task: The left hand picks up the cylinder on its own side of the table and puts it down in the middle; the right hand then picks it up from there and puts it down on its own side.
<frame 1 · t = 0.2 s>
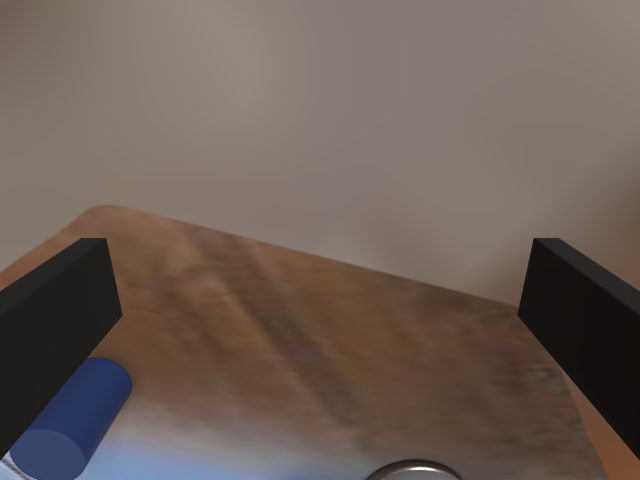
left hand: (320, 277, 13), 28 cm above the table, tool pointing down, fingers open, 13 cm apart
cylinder: (102, 381, 49), on the table
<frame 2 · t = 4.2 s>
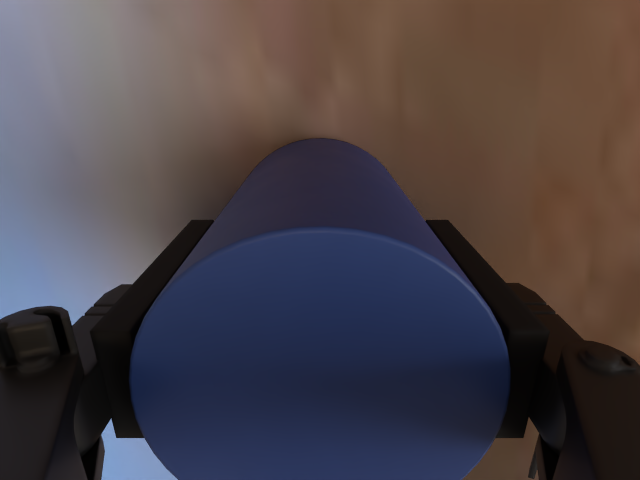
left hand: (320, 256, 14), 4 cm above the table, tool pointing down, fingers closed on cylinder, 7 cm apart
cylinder: (319, 222, 17), on the table, touching left hand
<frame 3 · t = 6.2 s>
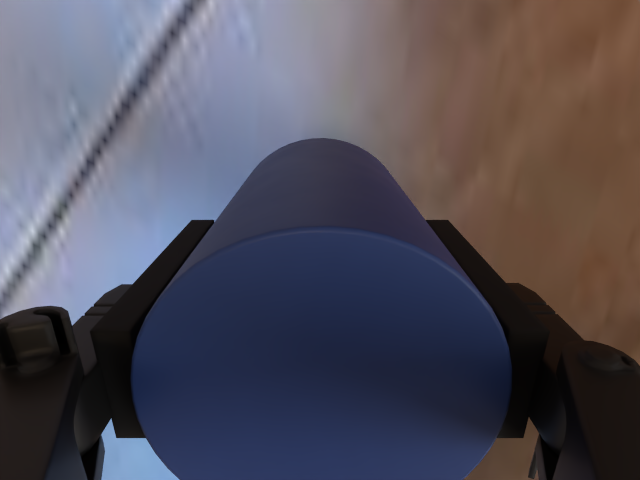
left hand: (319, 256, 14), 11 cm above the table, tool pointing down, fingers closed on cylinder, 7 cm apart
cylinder: (320, 222, 17), point 7 cm above the table, touching left hand
when the left hand's fingers open (5 cm above the table, at t = 8.4 s): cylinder drops 1 cm, on the table.
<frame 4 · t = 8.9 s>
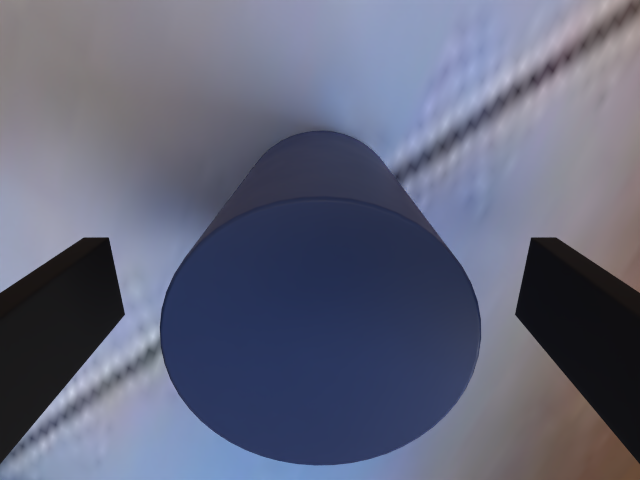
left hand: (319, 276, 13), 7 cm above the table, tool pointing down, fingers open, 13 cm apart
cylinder: (320, 209, 19), on the table
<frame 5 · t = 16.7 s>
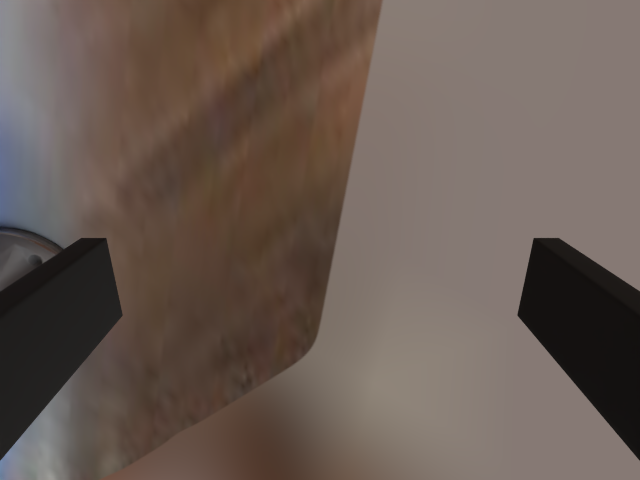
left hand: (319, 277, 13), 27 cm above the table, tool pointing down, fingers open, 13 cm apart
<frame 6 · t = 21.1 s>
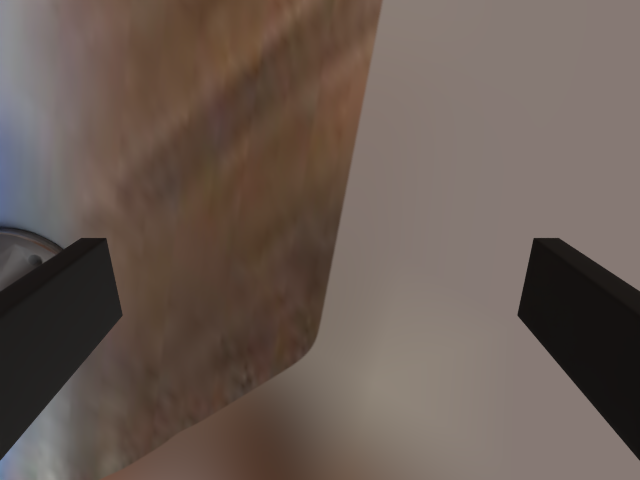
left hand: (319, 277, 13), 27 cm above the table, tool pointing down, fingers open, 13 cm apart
when the right hand's fingers open (5 cm above the table, at t = 25.6 s): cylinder drops 1 cm, on the table.
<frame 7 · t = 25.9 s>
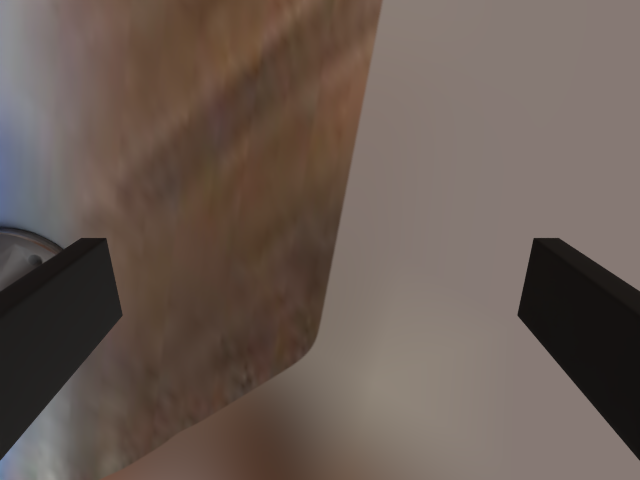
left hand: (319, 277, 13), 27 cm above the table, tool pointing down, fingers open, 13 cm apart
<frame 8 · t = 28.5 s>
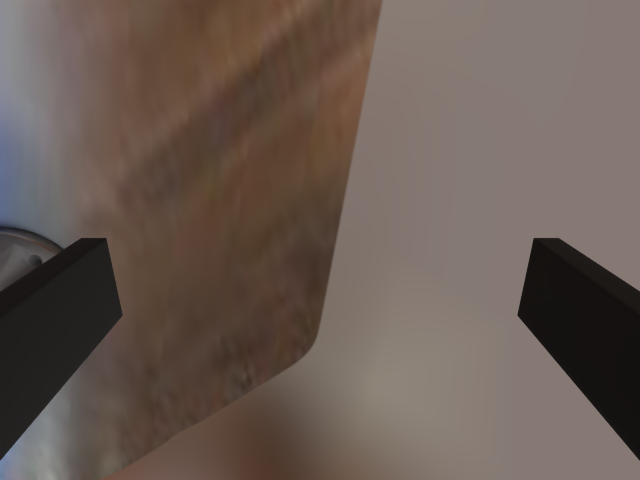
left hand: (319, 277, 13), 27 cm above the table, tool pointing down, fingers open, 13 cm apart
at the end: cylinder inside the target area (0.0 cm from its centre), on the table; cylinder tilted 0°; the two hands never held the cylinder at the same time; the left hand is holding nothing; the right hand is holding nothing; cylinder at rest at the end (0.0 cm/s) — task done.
